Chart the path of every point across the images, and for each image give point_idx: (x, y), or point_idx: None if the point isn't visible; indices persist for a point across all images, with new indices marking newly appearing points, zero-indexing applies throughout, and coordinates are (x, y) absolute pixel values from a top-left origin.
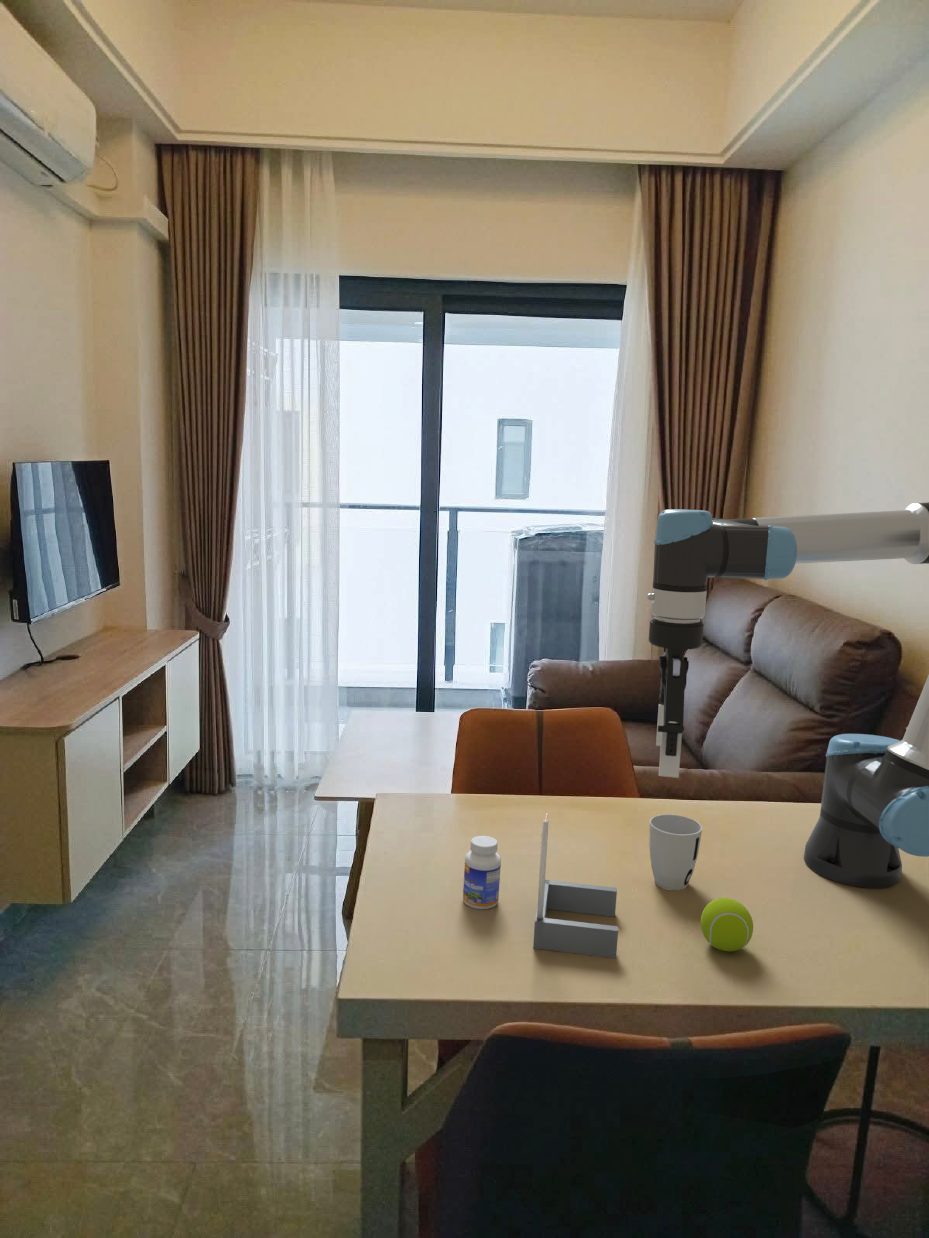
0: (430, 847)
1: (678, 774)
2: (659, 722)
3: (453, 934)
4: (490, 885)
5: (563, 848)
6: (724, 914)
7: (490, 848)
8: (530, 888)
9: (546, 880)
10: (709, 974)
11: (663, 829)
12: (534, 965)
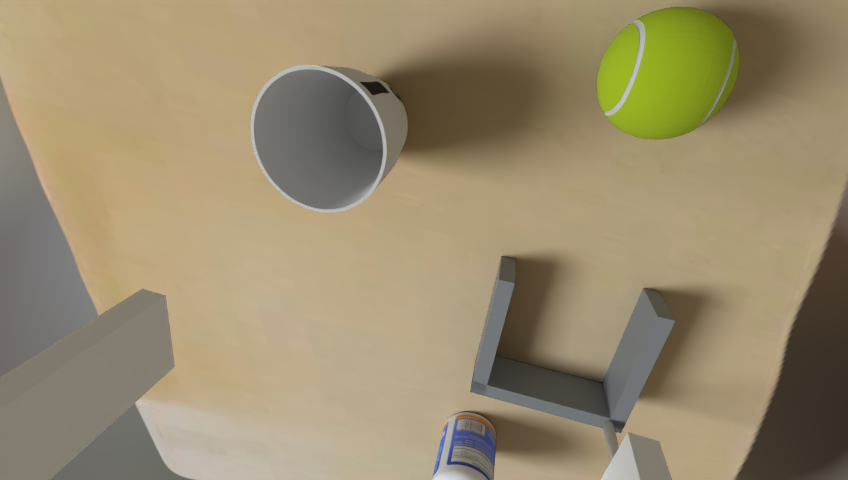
0: (317, 455)
1: (661, 457)
2: (51, 467)
3: (564, 475)
4: (492, 458)
5: (274, 285)
6: (715, 102)
7: None
8: (424, 362)
9: (473, 384)
10: (747, 139)
11: (283, 149)
12: (661, 405)
